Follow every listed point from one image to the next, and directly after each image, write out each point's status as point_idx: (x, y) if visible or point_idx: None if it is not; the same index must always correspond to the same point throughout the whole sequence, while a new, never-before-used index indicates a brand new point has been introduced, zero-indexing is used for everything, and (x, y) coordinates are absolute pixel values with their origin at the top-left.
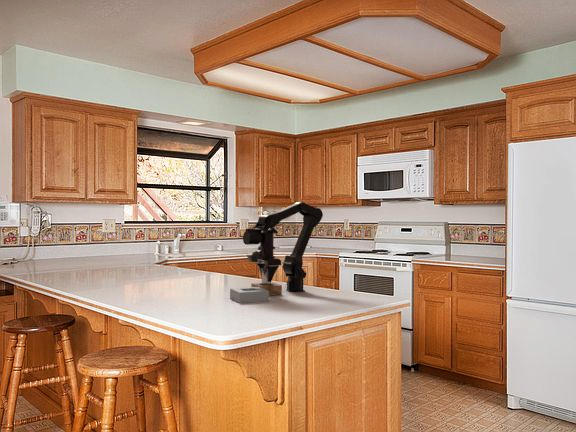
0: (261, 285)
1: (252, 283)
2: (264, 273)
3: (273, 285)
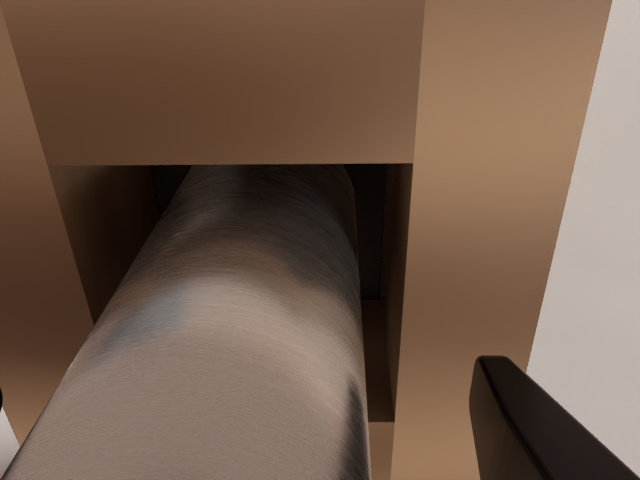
0: (36, 128)
1: (566, 11)
2: None
3: (16, 372)
